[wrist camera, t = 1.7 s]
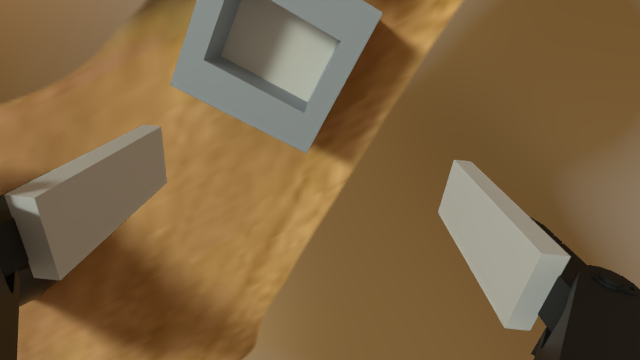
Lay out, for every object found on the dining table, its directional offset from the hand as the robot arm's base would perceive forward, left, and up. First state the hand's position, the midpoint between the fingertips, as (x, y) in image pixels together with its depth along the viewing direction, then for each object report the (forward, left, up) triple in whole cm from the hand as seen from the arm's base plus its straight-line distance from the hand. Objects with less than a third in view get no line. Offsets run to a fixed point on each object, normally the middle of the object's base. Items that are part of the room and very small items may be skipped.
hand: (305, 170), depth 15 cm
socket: (-6, +2, -22) cm, 23 cm away
